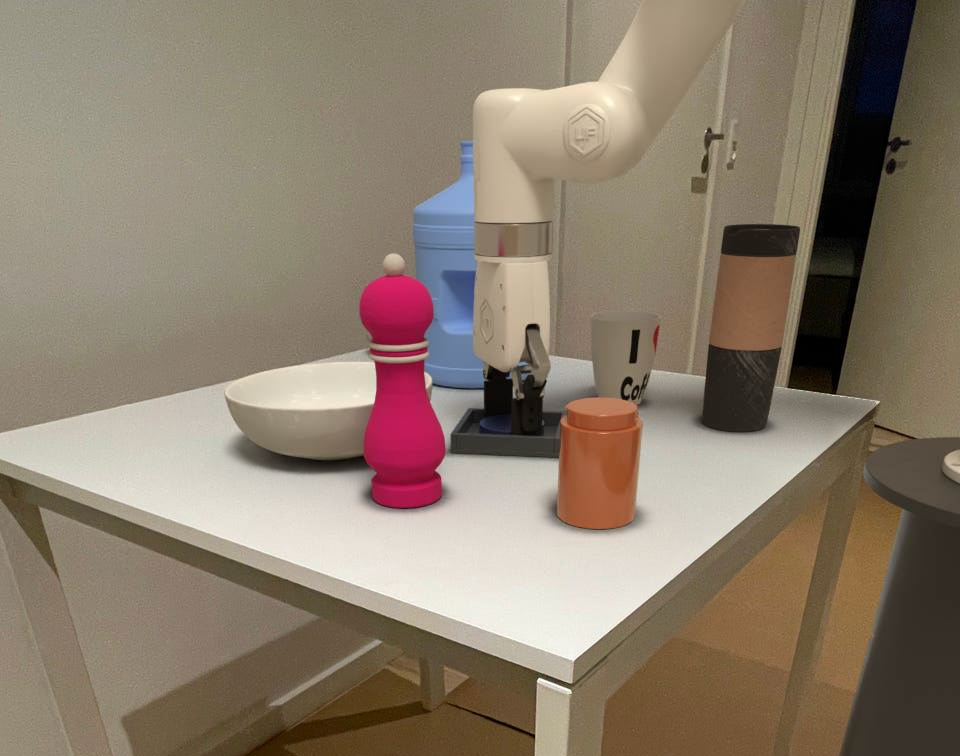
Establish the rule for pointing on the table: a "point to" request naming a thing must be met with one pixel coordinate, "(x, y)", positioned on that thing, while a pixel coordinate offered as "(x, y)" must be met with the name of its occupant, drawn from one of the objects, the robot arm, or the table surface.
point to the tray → (506, 437)
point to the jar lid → (498, 425)
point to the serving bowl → (308, 408)
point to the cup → (623, 352)
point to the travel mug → (748, 324)
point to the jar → (599, 463)
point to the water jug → (450, 279)
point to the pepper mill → (401, 391)
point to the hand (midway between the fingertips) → (512, 425)
